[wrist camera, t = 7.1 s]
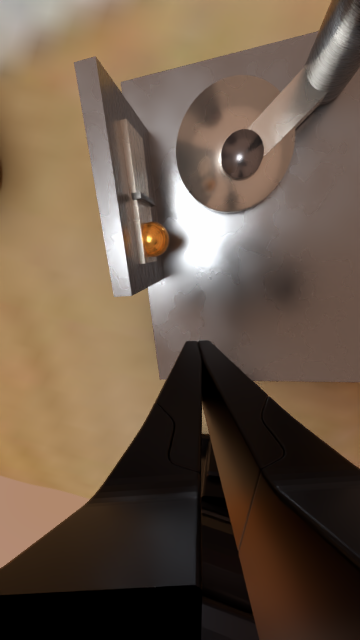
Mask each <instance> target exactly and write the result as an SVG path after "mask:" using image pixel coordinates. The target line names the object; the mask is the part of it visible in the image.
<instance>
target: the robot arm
mask: <svg viewBox="0 0 360 640" xmlns="http://www.w3.org/2000/svg"><path fill="white" fill-rule="evenodd" d="M202 405H203V410H204V414H205V418H206V422H207V426H208V430H209V434H210V436H207V435H202ZM0 640H360V469H359V468H358V467H356V466H355V465H354V464H352V463H351V462H349V461H348V460H347V459H346V458H344V457H343V456H342V455H340V454H339V453H338V452H337V451H335V450H334V449H333V448H331V447H330V446H329V445H327V444H326V443H325V442H324V441H322V440H321V439H320V438H318V437H317V436H316V435H314V434H313V433H312V432H311V431H309V430H308V429H307V428H306V427H304V426H303V425H302V424H301V423H299V422H298V421H297V420H296V419H294V418H293V417H292V416H291V415H290V414H288V413H287V412H286V411H285V410H284V409H283V408H282V407H281V406H279V405H278V404H277V403H276V402H275V401H274V400H273V399H272V398H271V397H268V395H267V394H266V393H265V392H264V391H263V390H262V389H261V388H260V387H259V386H258V385H257V384H256V383H254V382H253V381H252V380H251V379H250V378H249V377H248V376H247V375H246V374H245V373H244V372H243V371H242V370H240V369H239V368H238V367H237V366H236V365H235V364H234V363H233V362H232V361H231V360H230V359H229V358H228V357H226V356H225V355H224V354H223V353H222V352H221V351H220V350H219V349H218V348H217V347H216V346H215V345H214V344H213V343H211V342H210V341H209V340H198V342H197V341H195V340H194V341H186V342H185V344H184V346H183V348H182V350H181V352H180V354H179V356H178V358H177V360H176V362H175V364H174V366H173V368H172V370H171V372H170V374H169V376H168V377H167V379H166V381H165V383H164V385H163V387H162V389H161V391H160V393H159V395H158V397H157V399H156V401H155V403H154V405H153V407H152V409H151V411H150V413H149V415H148V417H147V418H146V420H145V422H144V424H143V426H142V427H141V429H140V430H139V432H138V433H137V435H136V437H135V438H134V440H133V441H132V443H131V444H130V446H129V447H128V449H127V450H126V451H125V453H124V454H123V456H122V457H121V459H120V460H119V462H118V463H117V465H116V466H115V467H114V469H113V470H112V472H111V473H110V475H109V476H108V478H107V479H106V481H105V482H104V483H103V485H102V486H101V487H100V489H99V490H98V491H97V492H96V494H95V495H94V496H93V497H92V498H91V499H90V500H89V501H88V502H87V503H86V504H85V505H84V506H83V507H81V508H80V509H79V510H77V511H76V512H75V513H73V514H72V515H71V516H69V517H68V518H67V519H65V520H64V521H63V522H61V523H60V524H59V525H57V526H56V527H55V528H54V529H53V530H51V531H50V532H48V533H47V534H46V535H44V536H43V537H42V538H40V539H39V540H38V541H36V542H35V543H34V544H32V545H31V546H30V547H28V548H27V549H26V550H25V551H23V552H22V553H21V554H19V555H18V556H17V557H15V558H14V559H13V560H11V561H10V562H9V563H7V564H6V565H5V566H3V567H2V568H0Z"/></svg>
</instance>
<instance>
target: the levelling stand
mask: <svg viewBox="0 0 360 640" xmlns="http://www.w3.org/2000/svg"><path fill="white" fill-rule="evenodd" d="M318 32H319V31H318ZM318 32H314V33H310V34H306V35H302V36H298V37H294V38H290V39H286V40H283V41H279V42H275V43H271V44H267V45H263V46H259V47H255V48H252V49H248V50H244V51H240V52H236V53H232V54H228V55H224V56H220V57H217V58H213V59H209V60H205V61H201V62H197V63H193V64H189V65H186V66H182V67H178V68H174V69H170V70H166V71H162V72H158V73H154V74H151V75H147V76H143V77H139V78H135V79H131V80H127V81H123V82H121V87H122V93H121V92H120V90H119V89H118V87H117V86H116V84H115V83H114V82H113V80H112V79H111V77H110V76H109V75H108V73H107V72H106V70H105V69H104V67H103V66H102V65H101V63H100V62H99V60H98V59H97V58H96V56H95V57H91V58H88V59H84V60H81V61H77V62H74V66H75V71H76V77H77V83H78V89H79V95H80V101H81V107H82V112H83V118H84V124H85V130H86V136H87V142H88V147H89V153H90V159H91V165H92V171H93V177H94V182H95V188H96V194H97V200H98V206H99V212H100V218H101V223H102V229H103V235H104V241H105V247H106V253H107V258H108V264H109V270H110V276H111V282H112V288H113V294H114V297H118V296H132V295H134V294H136V293H138V292H140V291H142V290H144V289H145V288H147V287H148V293H149V301H150V308H151V316H152V323H153V331H154V339H155V346H156V354H157V362H158V369H159V377H160V379H167V377H168V376H169V374H170V372H171V370H172V368H173V366H174V364H175V362H176V360H177V358H178V356H179V354H180V352H181V350H182V348H183V346H184V344H185V342H186V341H194V340H195V341H197V342H198V340H209V341H210V342H211V343H213V344H214V345H215V346H216V347H217V348H218V349H219V350H220V351H221V352H222V353H223V354H224V355H225V356H226V357H228V358H229V359H230V360H231V361H232V362H233V363H234V364H235V365H236V366H237V367H238V368H239V369H240V370H242V371H243V372H244V373H245V374H246V375H247V376H248V377H249V378H250V379H251V380H252V381H306V382H360V68H359V69H358V71H357V72H356V73H355V75H354V76H353V77H352V79H351V80H350V82H349V83H348V84H347V86H346V87H345V88H344V90H343V91H342V92H341V94H340V95H339V96H338V97H337V98H335V99H334V100H333V101H331V102H329V103H327V104H323V105H319V106H318V107H317V108H316V109H315V110H314V111H313V112H312V113H311V114H310V115H309V116H308V117H307V118H306V119H305V120H304V121H303V122H302V123H301V124H300V125H299V126H298V127H297V128H296V129H295V145H294V150H293V155H292V158H291V161H290V164H289V166H288V169H287V171H286V173H285V174H284V176H283V178H282V180H281V181H280V182H279V184H278V185H277V186H276V187H275V189H274V190H273V191H272V192H271V193H270V194H269V195H268V196H267V197H266V198H265V199H264V200H263V201H262V202H260V203H259V204H257V205H256V206H254V207H252V208H250V209H247V210H245V211H242V212H237V213H220V212H215V211H212V210H210V209H208V208H206V207H204V206H202V205H201V204H200V203H198V202H197V201H196V200H195V199H194V198H193V197H192V195H191V194H190V193H189V191H188V190H187V189H186V187H185V185H184V183H183V182H182V179H181V177H180V174H179V171H178V167H177V161H176V141H177V136H178V131H179V128H180V125H181V122H182V120H183V117H184V115H185V114H186V112H187V110H188V108H189V107H190V105H191V104H192V102H193V101H194V100H195V99H196V98H197V97H198V95H199V94H200V93H202V92H203V91H204V90H205V89H206V88H207V87H209V86H210V85H212V84H213V83H215V82H217V81H219V80H221V79H224V78H227V77H230V76H236V75H250V76H255V77H258V78H261V79H264V80H266V81H267V82H269V83H271V84H272V85H273V86H275V87H276V88H277V89H278V90H279V91H280V92H282V91H283V89H284V88H285V87H286V86H287V85H288V84H289V83H290V82H291V81H292V80H293V79H294V77H295V76H296V75H297V74H298V73H299V72H300V71H301V70H302V69H303V68H304V65H305V63H306V61H307V58H308V56H309V54H310V51H311V49H312V46H313V44H314V42H315V39H316V37H317V35H318Z"/></svg>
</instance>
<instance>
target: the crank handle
mask: <svg viewBox="0 0 360 640" xmlns="http://www.w3.org/2000/svg"><path fill="white" fill-rule="evenodd" d="M359 68H360V0H332V1H331V4H330V6H329V8H328V11H327V13H326V15H325V18H324V20H323V23H322V25H321V27H320V30H319V32H318V35H317V37H316V39H315V42H314V44H313V46H312V49H311V51H310V54H309V56H308V58H307V61H306V63H305V65H304V68H303V69H302V70H301V71H300V72H299V73H298V74H297V75H296V76H295V77H294V79H293V80H292V81H291V82H290V83H289V84H288V85H287V86H286V87H285V88H284V89H283V91H282V92H280V91H279V90H278V89H277V88H276V87H275V86H273V85H272V84H271V83H269V82H267V81H266V80H264V79H261V78H258V77H255V76H250V75H236V76H230V77H227V78H224V79H221V80H219V81H217V82H215V83H213V84H212V85H210V86H209V87H207V88H206V89H205V90H204V91H203V92H202V93H200V94H199V95H198V97H197V98H196V99H195V100H194V101H193V102H192V104H191V105H190V107H189V108H188V110H187V112H186V114H185V115H184V117H183V120H182V122H181V125H180V128H179V131H178V136H177V141H176V161H177V167H178V171H179V174H180V177H181V179H182V182H183V183H184V185H185V187H186V189H187V190H188V191H189V193H190V194H191V195H192V197H193V198H194V199H195V200H196V201H197V202H198V203H200V204H201V205H202V206H204V207H206V208H208V209H210V210H212V211H215V212H220V213H237V212H242V211H245V210H247V209H250V208H252V207H254V206H256V205H257V204H259V203H260V202H262V201H263V200H264V199H265V198H266V197H267V196H268V195H269V194H270V193H271V192H272V191H273V190H274V189H275V187H276V186H277V185H278V184H279V182H280V181H281V180H282V178H283V176H284V174H285V173H286V171H287V169H288V166H289V164H290V161H291V158H292V155H293V150H294V145H295V129H296V128H297V127H298V126H299V125H300V124H301V123H302V122H303V121H304V120H305V119H306V118H307V117H308V116H309V115H310V114H311V113H312V112H313V111H314V110H315V109H316V108H317V107H318V106H319V105H323V104H327V103H329V102H331V101H333V100H334V99H335V98H337V97H338V96H339V95H340V94H341V92H342V91H343V90H344V88H345V87H346V86H347V84H348V83H349V82H350V80H351V79H352V77H353V76H354V75H355V73H356V72H357V71H358V69H359Z"/></svg>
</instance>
